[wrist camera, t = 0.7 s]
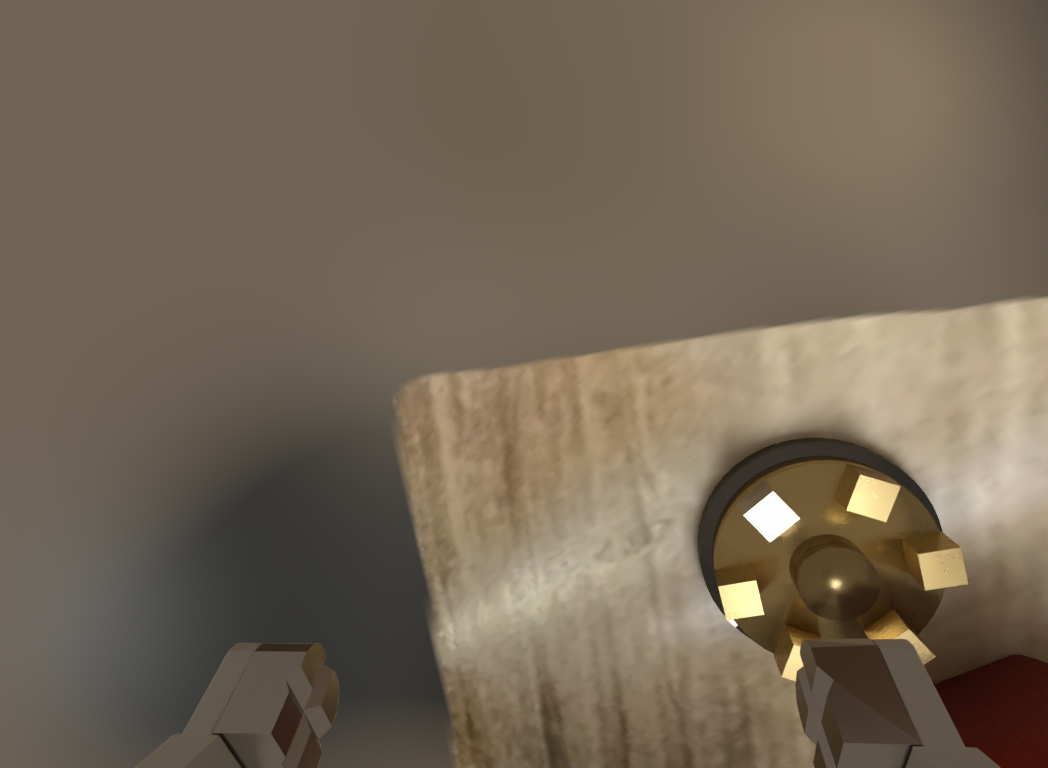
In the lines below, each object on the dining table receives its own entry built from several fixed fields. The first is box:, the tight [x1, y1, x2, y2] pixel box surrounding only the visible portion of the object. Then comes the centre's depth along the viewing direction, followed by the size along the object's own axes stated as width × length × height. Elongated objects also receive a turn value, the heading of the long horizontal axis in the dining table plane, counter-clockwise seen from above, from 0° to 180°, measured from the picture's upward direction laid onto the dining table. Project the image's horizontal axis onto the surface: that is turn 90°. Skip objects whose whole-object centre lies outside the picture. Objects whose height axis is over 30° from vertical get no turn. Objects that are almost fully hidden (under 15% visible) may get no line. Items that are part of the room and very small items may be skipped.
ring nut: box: [712, 456, 968, 681], centre depth 51 cm, size 18×18×6 cm
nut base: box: [698, 438, 942, 639], centre depth 55 cm, size 20×20×2 cm
